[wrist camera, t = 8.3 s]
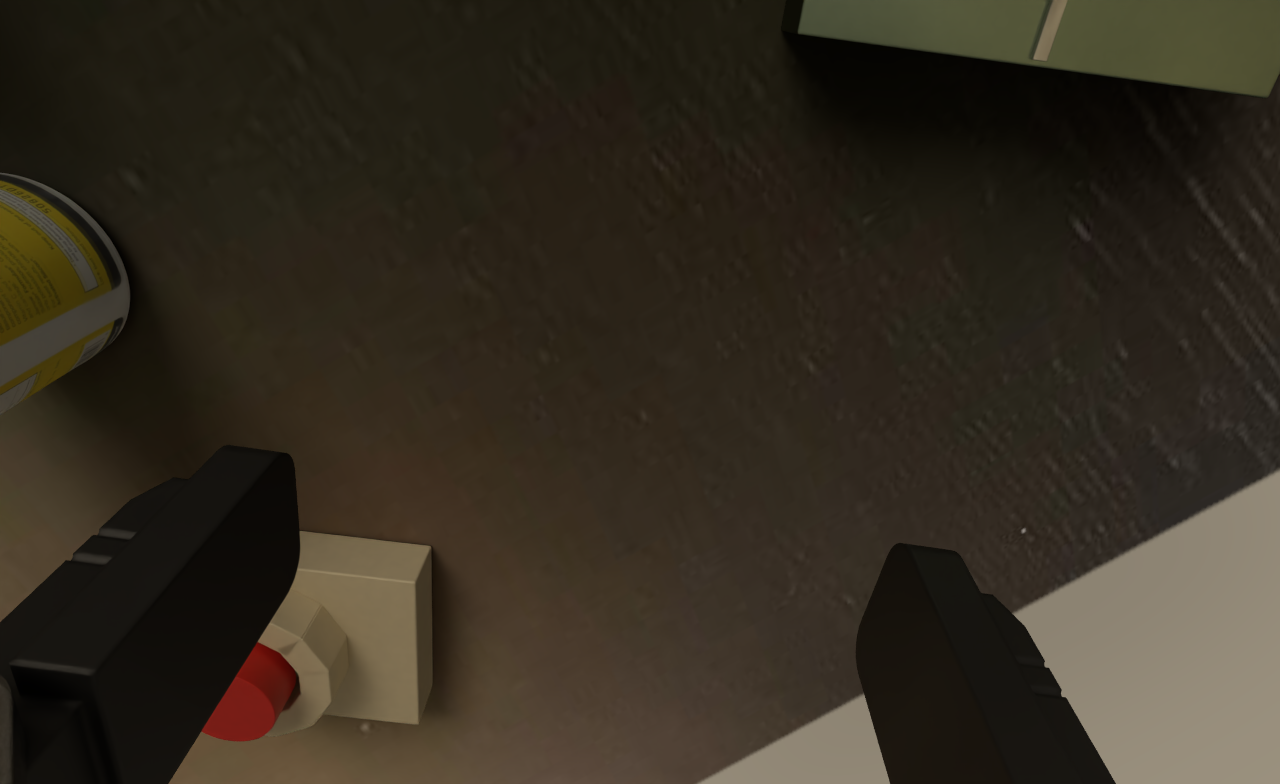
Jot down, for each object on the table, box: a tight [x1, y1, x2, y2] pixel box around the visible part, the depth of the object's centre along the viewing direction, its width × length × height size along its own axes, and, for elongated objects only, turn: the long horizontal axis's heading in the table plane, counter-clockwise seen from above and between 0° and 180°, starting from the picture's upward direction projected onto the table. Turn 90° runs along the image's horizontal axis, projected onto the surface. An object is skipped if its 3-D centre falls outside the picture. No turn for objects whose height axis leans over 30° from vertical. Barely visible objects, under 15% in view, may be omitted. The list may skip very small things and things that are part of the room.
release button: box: [202, 642, 296, 741], centre depth 28 cm, size 4×4×2 cm
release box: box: [258, 531, 433, 737], centre depth 30 cm, size 12×8×4 cm, turn 83°
